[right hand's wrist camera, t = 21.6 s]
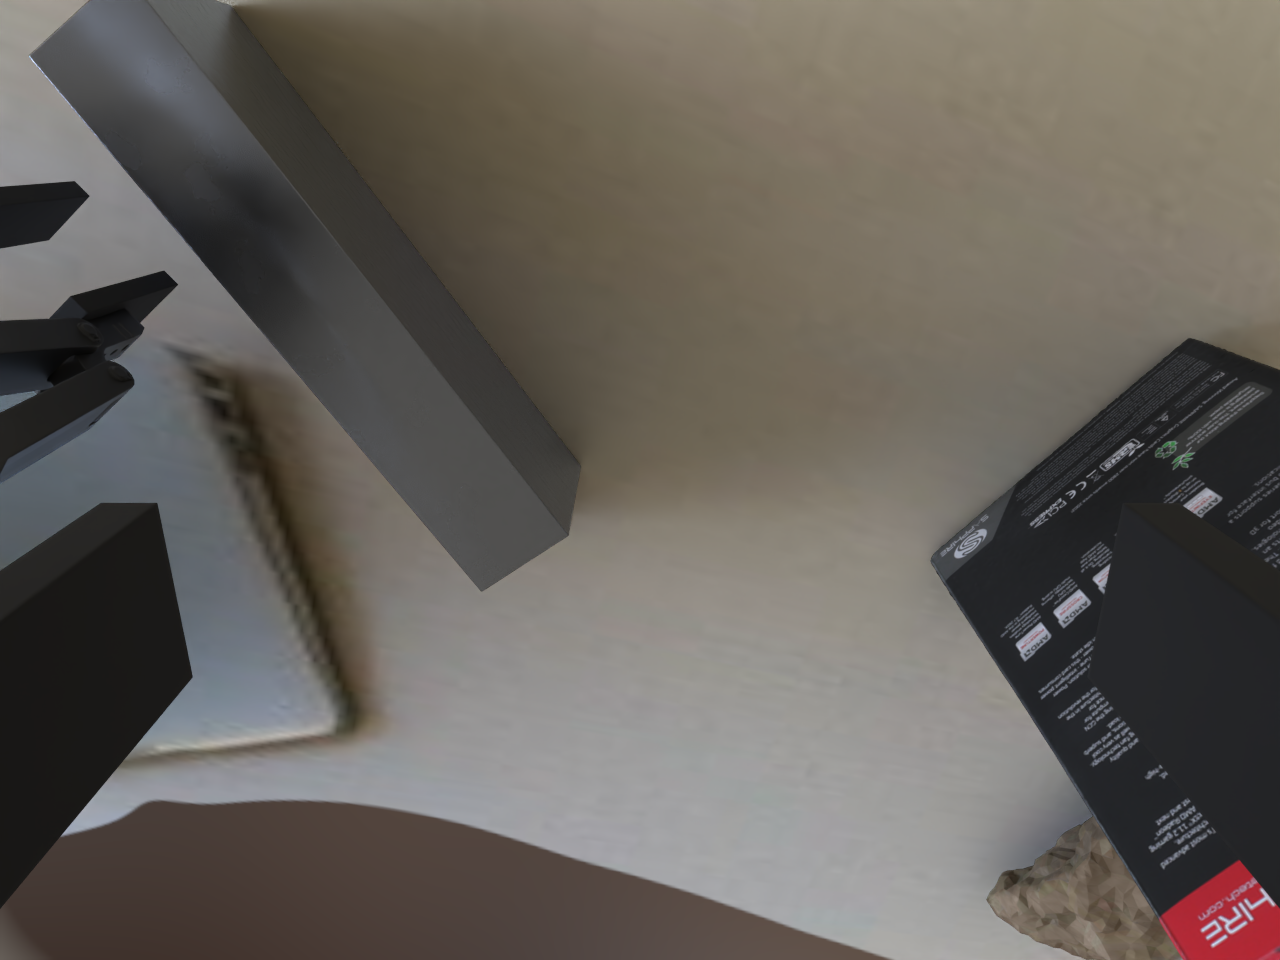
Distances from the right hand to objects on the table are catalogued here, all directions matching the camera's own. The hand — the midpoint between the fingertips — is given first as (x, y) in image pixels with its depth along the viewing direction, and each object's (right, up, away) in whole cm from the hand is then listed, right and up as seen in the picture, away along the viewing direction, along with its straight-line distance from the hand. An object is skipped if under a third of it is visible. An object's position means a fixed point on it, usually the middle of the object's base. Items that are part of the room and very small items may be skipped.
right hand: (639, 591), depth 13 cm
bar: (-12, +11, +31) cm, 35 cm away
